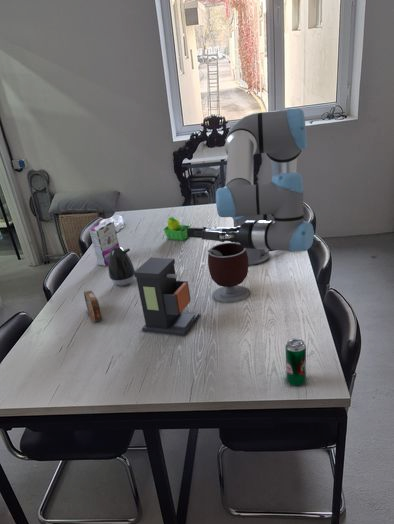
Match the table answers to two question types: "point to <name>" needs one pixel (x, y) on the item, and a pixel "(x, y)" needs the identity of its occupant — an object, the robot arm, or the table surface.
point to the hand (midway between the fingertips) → (188, 232)
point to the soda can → (295, 362)
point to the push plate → (182, 297)
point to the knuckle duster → (115, 222)
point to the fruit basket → (175, 230)
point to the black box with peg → (162, 298)
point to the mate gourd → (228, 271)
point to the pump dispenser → (120, 266)
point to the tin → (92, 305)
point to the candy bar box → (104, 241)
